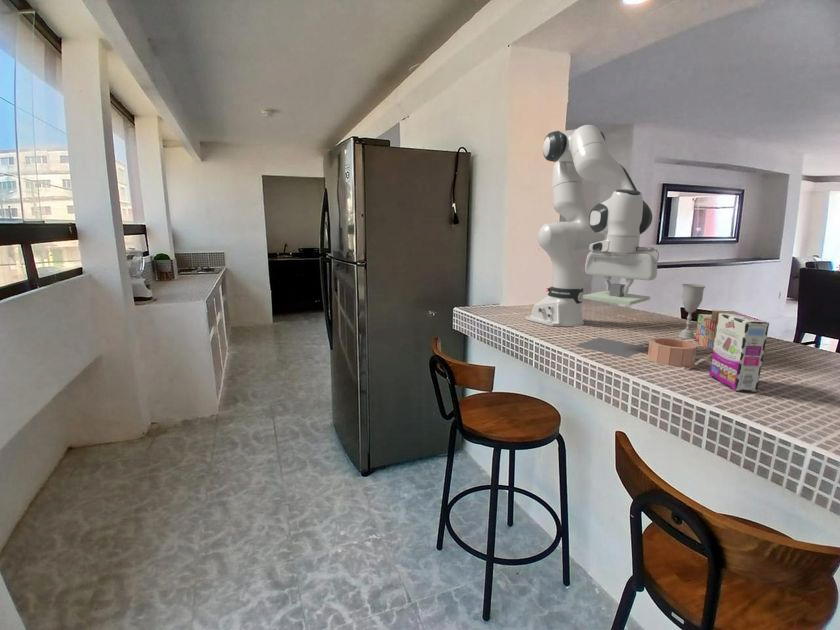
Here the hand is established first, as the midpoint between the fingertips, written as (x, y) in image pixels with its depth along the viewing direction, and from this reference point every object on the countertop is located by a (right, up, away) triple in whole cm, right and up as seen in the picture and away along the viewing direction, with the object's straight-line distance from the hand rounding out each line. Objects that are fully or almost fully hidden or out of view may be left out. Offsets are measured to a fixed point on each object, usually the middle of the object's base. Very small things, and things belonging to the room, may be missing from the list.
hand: (616, 292), depth 128 cm
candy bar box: (+16, -24, -26) cm, 39 cm away
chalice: (+33, -15, +19) cm, 40 cm away
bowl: (+10, -20, -10) cm, 25 cm away
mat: (0, -17, +3) cm, 18 cm away
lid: (0, -2, 0) cm, 2 cm away
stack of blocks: (+33, -18, +3) cm, 38 cm away
